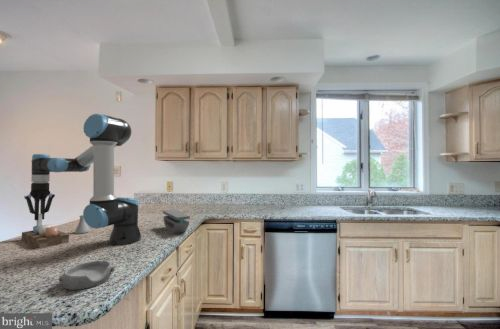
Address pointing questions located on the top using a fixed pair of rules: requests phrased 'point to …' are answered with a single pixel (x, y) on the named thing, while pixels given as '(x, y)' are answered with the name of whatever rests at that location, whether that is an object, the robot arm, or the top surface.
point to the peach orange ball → (51, 232)
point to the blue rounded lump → (35, 229)
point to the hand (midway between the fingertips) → (39, 225)
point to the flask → (82, 226)
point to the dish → (86, 275)
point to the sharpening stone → (175, 221)
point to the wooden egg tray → (44, 239)
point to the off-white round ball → (43, 229)
